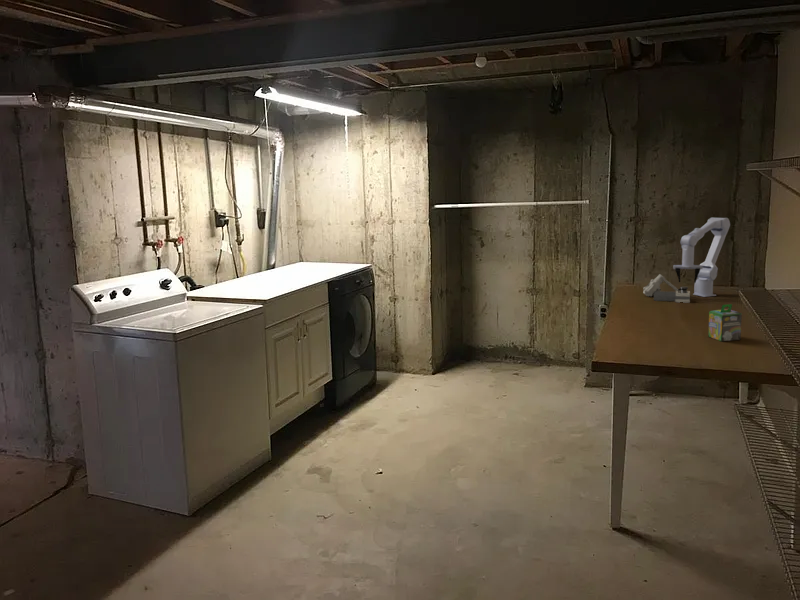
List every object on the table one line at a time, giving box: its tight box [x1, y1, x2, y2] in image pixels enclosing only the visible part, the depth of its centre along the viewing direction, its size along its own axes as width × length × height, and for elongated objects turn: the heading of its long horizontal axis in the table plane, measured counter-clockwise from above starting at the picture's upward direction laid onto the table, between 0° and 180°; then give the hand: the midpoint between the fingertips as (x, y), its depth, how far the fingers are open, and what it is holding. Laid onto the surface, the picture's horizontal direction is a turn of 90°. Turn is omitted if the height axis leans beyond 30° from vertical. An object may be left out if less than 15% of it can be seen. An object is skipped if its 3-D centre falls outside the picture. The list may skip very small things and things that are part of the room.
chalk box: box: [708, 303, 743, 342], centre depth 267 cm, size 9×9×15 cm
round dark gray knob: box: [679, 286, 689, 293], centre depth 344 cm, size 4×4×8 cm
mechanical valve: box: [642, 273, 681, 298], centre depth 362 cm, size 10×18×15 cm
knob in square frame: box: [653, 290, 691, 304], centre depth 352 cm, size 18×18×5 cm
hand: (687, 282), depth 349 cm, fingers open, 7 cm apart
